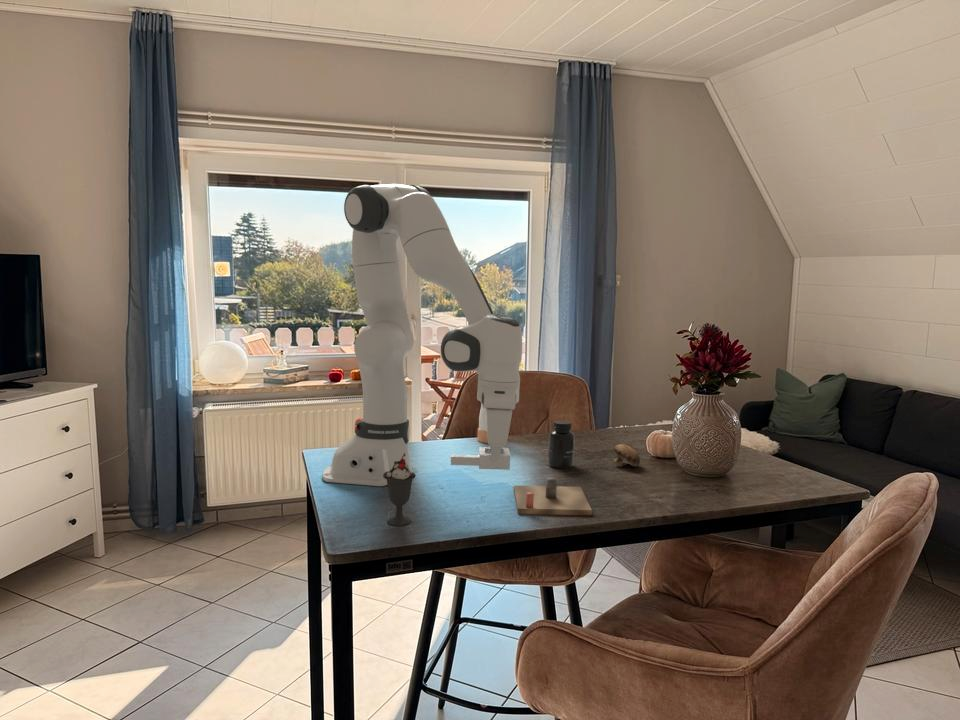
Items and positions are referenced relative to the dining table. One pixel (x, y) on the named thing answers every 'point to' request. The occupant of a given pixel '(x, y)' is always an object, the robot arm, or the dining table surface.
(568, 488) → the post base
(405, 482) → the sundae
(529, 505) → the dowel pin
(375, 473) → the robot arm
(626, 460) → the mushroom
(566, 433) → the supplement bottle
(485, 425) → the pepper shaker
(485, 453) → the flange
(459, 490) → the dining table surface
